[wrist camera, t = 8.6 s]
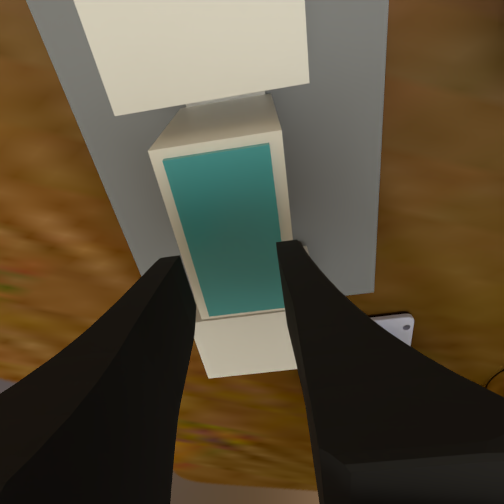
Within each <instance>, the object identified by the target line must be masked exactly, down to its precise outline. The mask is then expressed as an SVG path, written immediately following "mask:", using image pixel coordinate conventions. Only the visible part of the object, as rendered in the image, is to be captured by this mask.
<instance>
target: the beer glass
mask: <svg viewBox="0 0 504 504" xmlns="http://www.w3.org/2000/svg"><path fill="white" fill-rule="evenodd" d="M486 389H488V390H490V391H492V392H494V393H496V394H498V395H500V396H502V397H504V371H502V372H500V373H499V374H497V375H496V376H495V377H494V378H493V379H492V380H491V381H490V382H489V384H488V385H487V388H486Z"/></svg>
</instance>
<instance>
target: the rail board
mask: <svg viewBox="0 0 504 504" xmlns="http://www.w3.org/2000/svg"><path fill="white" fill-rule="evenodd" d="M26 1H27V4H28V6H29V9H30V11H31V13H32V16H33V18H34V21H35V23H36V25H37V28H38V30H39V32H40V35H41V37H42V40H43V42H44V44H45V47H46V49H47V52H48V54H49V56H50V59H51V61H52V64H53V66H54V68H55V71H56V73H57V75H58V78H59V80H60V83H61V85H62V87H63V90H64V92H65V95H66V97H67V99H68V102H69V104H70V107H71V109H72V111H73V114H74V116H75V118H76V121H77V123H78V126H79V128H80V130H81V133H82V135H83V138H84V140H85V142H86V145H87V147H88V150H89V152H90V154H91V157H92V159H93V161H94V164H95V166H96V169H97V171H98V173H99V176H100V178H101V181H102V183H103V185H104V188H105V190H106V193H107V195H108V197H109V200H110V202H111V204H112V207H113V209H114V212H115V214H116V216H117V219H118V221H119V224H120V226H121V228H122V231H123V233H124V236H125V238H126V240H127V243H128V245H129V247H130V250H131V252H132V255H133V257H134V259H135V262H136V264H137V267H138V269H139V271H140V274H141V276H143V275H144V273H145V272H146V271H147V270H148V269H149V268H150V267H151V266H152V265H153V264H154V263H155V262H156V261H157V260H158V259H160V258H163V257H170V256H178V255H180V257H181V260H182V256H181V253H180V250H179V247H178V244H177V241H176V238H175V235H174V231H173V228H172V225H171V222H170V219H169V216H168V213H167V210H166V206H165V203H164V200H163V197H162V194H161V191H160V188H159V185H158V181H157V178H156V175H155V172H154V169H153V166H152V163H151V160H150V156H149V153H148V150H149V149H150V147H151V146H152V145H153V144H154V142H155V141H156V140H157V138H158V137H159V136H160V134H161V133H162V132H163V131H164V129H165V128H166V127H167V125H168V124H169V123H170V121H171V120H172V119H173V118H174V116H175V115H176V114H177V112H178V111H179V110H180V108H185V107H191V106H198V105H204V104H210V103H216V102H222V101H228V100H234V99H240V98H246V97H252V96H258V95H264V94H270V93H271V96H272V99H273V102H274V106H275V109H276V112H277V116H278V119H279V122H280V126H281V129H282V137H283V147H284V157H285V167H286V177H287V187H288V197H289V207H290V217H291V226H292V236H293V240H296V239H297V240H298V241H300V242H301V244H302V246H303V247H304V249H305V250H306V252H307V253H308V255H309V256H310V257H311V259H312V260H313V261H314V263H315V264H316V265H317V266H318V268H319V269H320V270H321V271H322V272H323V273H324V275H325V276H326V277H327V278H328V279H329V280H330V281H331V282H332V283H333V284H334V285H335V286H336V288H337V289H338V290H339V291H340V292H342V293H343V294H344V295H345V296H346V295H355V294H363V293H371V292H374V281H375V262H376V242H377V222H378V203H379V183H380V163H381V144H382V124H383V104H384V85H385V65H386V45H387V25H388V6H389V0H26ZM182 263H183V260H182ZM183 266H184V263H183ZM184 269H185V266H184ZM185 272H186V269H185ZM186 276H187V279H188V282H189V285H190V281H189V278H188V275H187V272H186ZM190 288H191V285H190ZM191 291H192V288H191ZM192 294H193V291H192ZM193 297H194V294H193ZM194 300H195V297H194ZM195 303H196V300H195ZM194 339H195V342H196V345H197V348H198V350H199V353H200V356H201V359H202V362H203V364H204V367H205V370H206V373H207V376H208V378H217V377H226V376H236V375H245V374H255V373H264V372H274V371H283V370H293V369H297V365H296V360H295V356H294V352H293V348H292V344H291V339H290V335H289V331H288V326H287V321H286V313H285V310H280V311H271V312H262V313H254V314H245V315H237V316H228V317H219V318H211V319H201V316H200V313H199V310H198V306H197V303H196V323H195V335H194Z"/></svg>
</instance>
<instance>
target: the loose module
mask: <svg viewBox="0 0 504 504" xmlns="http://www.w3.org/2000/svg"><path fill="white" fill-rule="evenodd" d="M148 153H149V156H150V160H151V163H152V166H153V169H154V172H155V175H156V178H157V181H158V185H159V188H160V191H161V194H162V197H163V200H164V203H165V206H166V210H167V213H168V216H169V219H170V222H171V225H172V228H173V231H174V235H175V238H176V241H177V244H178V247H179V250H180V253H181V256H182V260H183V263H184V266H185V269H186V272H187V275H188V278H189V281H190V285H191V288H192V291H193V294H194V297H195V300H196V303H197V306H198V310H199V313H200V316H201V319H211V318H219V317H228V316H237V315H245V314H254V313H262V312H271V311H280V310H285V306H284V299H283V292H282V285H281V278H280V270H279V263H278V256H277V248H276V242H281V241H289V240H293V236H292V226H291V217H290V207H289V197H288V187H287V177H286V167H285V157H284V147H283V137H282V129H281V126H280V122H279V119H278V116H277V112H276V109H275V106H274V102H273V99H272V96H271V93H270V94H264V95H258V96H252V97H246V98H240V99H234V100H228V101H222V102H216V103H210V104H204V105H198V106H191V107H185V108H180V110H179V111H178V112H177V114H176V115H175V116H174V118H173V119H172V120H171V121H170V123H169V124H168V125H167V127H166V128H165V129H164V131H163V132H162V133H161V134H160V136H159V137H158V138H157V140H156V141H155V142H154V144H153V145H152V146H151V147H150V149H149V150H148Z"/></svg>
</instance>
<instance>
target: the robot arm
mask: <svg viewBox="0 0 504 504" xmlns="http://www.w3.org/2000/svg"><path fill="white" fill-rule="evenodd" d="M276 248H277V256H278V263H279V270H280V278H281V285H282V292H283V299H284V306H285V313H286V321H287V326H288V331H289V335H290V339H291V344H292V348H293V352H294V356H295V360H296V365H297V369H298V373H299V377H300V382H301V386H302V390H303V395H304V400H305V405H306V412H307V419H308V426H309V433H310V440H311V447H312V454H313V461H314V468H315V475H316V482H317V489H318V496H319V502H320V504H504V397H502V396H500V395H498V394H496V393H494V392H492V391H490V390H488V389H486V388H484V387H482V386H480V385H478V384H476V383H474V382H472V381H470V380H468V379H466V378H464V377H462V376H460V375H458V374H456V373H454V372H453V371H451V370H449V369H447V368H445V367H444V366H442V365H440V364H438V363H437V362H435V361H433V360H431V359H430V358H428V357H426V356H424V355H423V354H421V353H420V352H418V351H417V350H415V349H414V348H412V347H411V340H412V333H413V326H414V318H413V316H412V315H411V314H398V315H389V316H381V317H372V318H370V317H369V316H367V315H366V314H365V313H364V312H362V311H361V310H360V309H359V308H358V307H357V306H355V305H354V304H353V303H352V302H351V301H350V300H349V299H348V298H347V297H346V296H345V295H344V294H343V293H342V292H340V291H339V290H338V289H337V288H336V286H335V285H334V284H333V283H332V282H331V281H330V280H329V279H328V278H327V277H326V276H325V275H324V273H323V272H322V271H321V270H320V269H319V268H318V266H317V265H316V264H315V263H314V261H313V260H312V259H311V257H310V256H309V255H308V253H307V252H306V250H305V249H304V247H303V246H302V244H301V242H300V241H298V240H297V239H296V240H289V241H281V242H276ZM195 323H196V303H195V300H194V297H193V294H192V291H191V288H190V285H189V282H188V279H187V276H186V272H185V269H184V266H183V263H182V260H181V257H180V255H178V256H170V257H163V258H160V259H158V260H157V261H156V262H155V263H154V264H153V265H152V266H151V267H150V268H149V269H148V270H147V271H146V272H145V273H144V275H143V276H142V277H141V278H140V279H139V280H138V281H137V282H136V283H135V284H134V285H133V286H132V287H131V288H130V289H129V290H128V291H127V292H126V293H125V294H124V295H123V296H122V297H121V298H120V299H119V300H118V301H117V302H116V303H115V304H114V305H113V306H112V307H111V308H110V309H109V310H108V311H107V312H106V313H105V314H104V315H103V316H101V317H100V318H99V319H98V320H97V321H96V322H95V323H94V324H93V325H92V326H91V327H90V328H88V329H87V330H86V331H85V332H84V333H83V334H82V335H80V336H79V337H78V338H77V339H76V340H74V341H73V342H72V343H71V344H69V345H68V346H67V347H66V348H64V349H63V350H62V351H61V352H59V353H58V354H57V355H55V356H54V357H53V358H51V359H50V360H49V361H47V362H46V363H44V364H43V365H42V366H40V367H39V368H37V369H36V370H34V371H33V372H32V373H30V374H29V375H27V376H26V377H24V378H23V379H22V380H20V381H19V382H17V383H16V384H15V385H13V386H12V387H10V388H8V389H7V390H5V391H4V392H2V393H1V394H0V504H170V498H171V484H172V473H173V462H174V451H175V441H176V432H177V422H178V415H179V409H180V403H181V398H182V394H183V389H184V384H185V379H186V374H187V370H188V365H189V360H190V355H191V350H192V345H193V340H194V335H195ZM405 325H406V326H405Z"/></svg>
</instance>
